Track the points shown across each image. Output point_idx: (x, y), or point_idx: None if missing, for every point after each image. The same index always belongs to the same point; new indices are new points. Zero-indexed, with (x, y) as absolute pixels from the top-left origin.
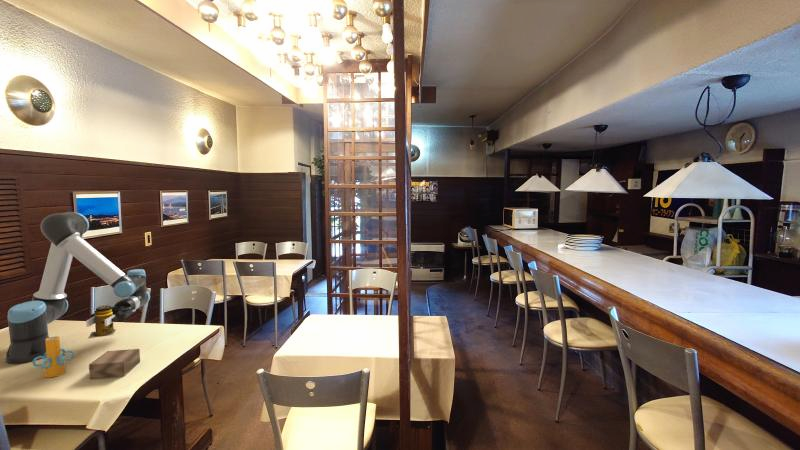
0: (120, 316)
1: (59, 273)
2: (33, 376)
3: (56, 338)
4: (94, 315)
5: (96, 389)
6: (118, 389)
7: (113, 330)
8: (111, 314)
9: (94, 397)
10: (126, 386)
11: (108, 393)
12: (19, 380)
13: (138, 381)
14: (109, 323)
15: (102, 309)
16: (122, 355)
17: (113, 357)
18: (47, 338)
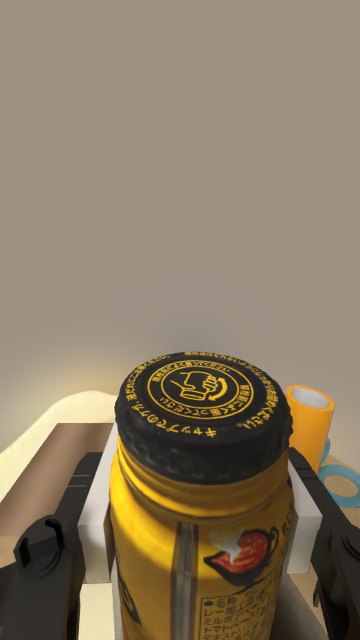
0: (16, 573)
1: None
2: (340, 506)
3: (288, 393)
4: (357, 532)
5: (115, 416)
6: (73, 410)
7: (123, 637)
8: (114, 459)
9: (109, 397)
10: (58, 417)
11: (89, 403)
12: (347, 484)
13: (32, 430)
14: None
15: (173, 355)
16: (60, 467)
17: None
18: (326, 397)
